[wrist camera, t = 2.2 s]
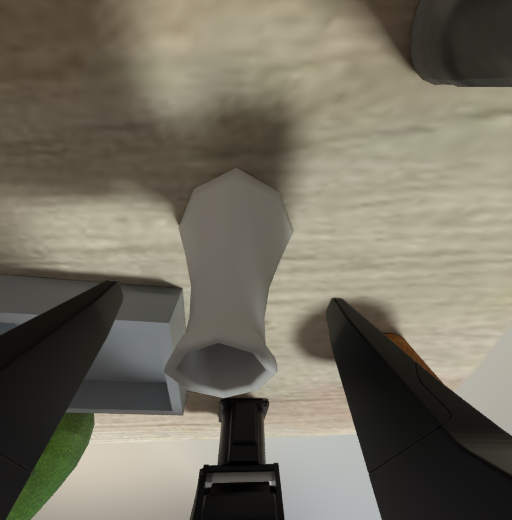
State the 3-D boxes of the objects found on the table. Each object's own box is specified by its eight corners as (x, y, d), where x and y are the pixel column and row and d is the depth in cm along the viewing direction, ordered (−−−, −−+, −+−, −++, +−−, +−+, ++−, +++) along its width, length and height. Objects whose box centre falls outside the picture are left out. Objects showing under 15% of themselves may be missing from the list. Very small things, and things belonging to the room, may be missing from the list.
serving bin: (190, 381, 26) (183, 415, 23) (56, 376, 25) (30, 411, 22) (182, 288, 18) (169, 323, 15) (-21, 272, 16) (-80, 307, 13)
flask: (160, 224, 14) (42, 373, 6) (236, 141, 12) (205, 208, 4) (237, 284, 18) (227, 436, 9) (311, 228, 15) (388, 372, 7)
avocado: (35, 380, 25) (-106, 555, 15) (108, 391, 27) (25, 554, 17) (43, 408, 29) (-64, 561, 19) (106, 416, 31) (38, 559, 21)
